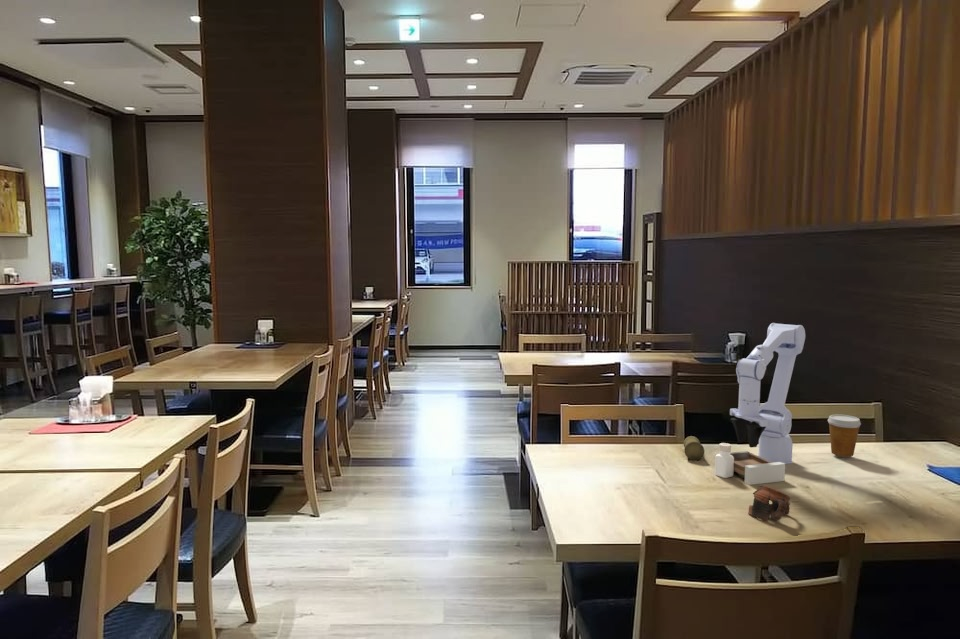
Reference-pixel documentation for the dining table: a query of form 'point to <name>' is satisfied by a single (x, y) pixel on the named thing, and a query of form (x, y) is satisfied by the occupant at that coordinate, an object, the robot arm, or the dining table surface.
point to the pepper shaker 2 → (724, 461)
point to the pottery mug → (765, 509)
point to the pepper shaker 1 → (693, 448)
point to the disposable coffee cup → (843, 434)
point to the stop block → (764, 473)
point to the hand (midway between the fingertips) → (747, 444)
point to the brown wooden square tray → (745, 461)
